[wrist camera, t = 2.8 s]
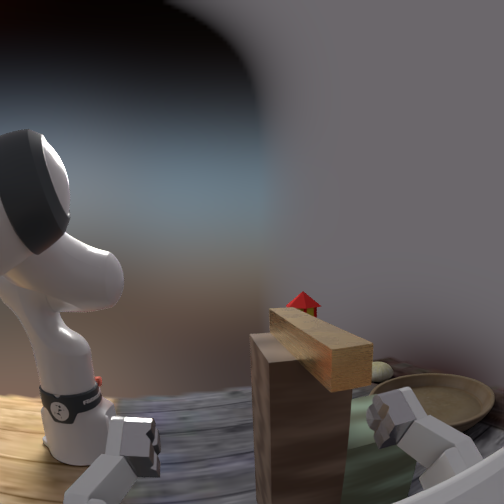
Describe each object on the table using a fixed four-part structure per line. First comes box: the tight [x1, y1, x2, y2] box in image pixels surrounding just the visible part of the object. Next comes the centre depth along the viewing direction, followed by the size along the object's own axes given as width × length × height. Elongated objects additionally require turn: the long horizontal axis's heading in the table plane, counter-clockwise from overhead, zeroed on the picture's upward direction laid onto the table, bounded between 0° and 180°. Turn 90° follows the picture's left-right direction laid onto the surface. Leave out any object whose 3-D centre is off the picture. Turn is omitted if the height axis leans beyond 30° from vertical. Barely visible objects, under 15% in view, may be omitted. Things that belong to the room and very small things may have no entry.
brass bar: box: [269, 307, 373, 393], centre depth 29 cm, size 20×3×3 cm, turn 8°
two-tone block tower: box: [250, 333, 417, 504], centre depth 33 cm, size 12×18×27 cm, turn 98°
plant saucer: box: [369, 373, 495, 432], centre depth 59 cm, size 31×31×5 cm
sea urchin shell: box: [371, 362, 393, 382], centre depth 85 cm, size 9×8×8 cm
